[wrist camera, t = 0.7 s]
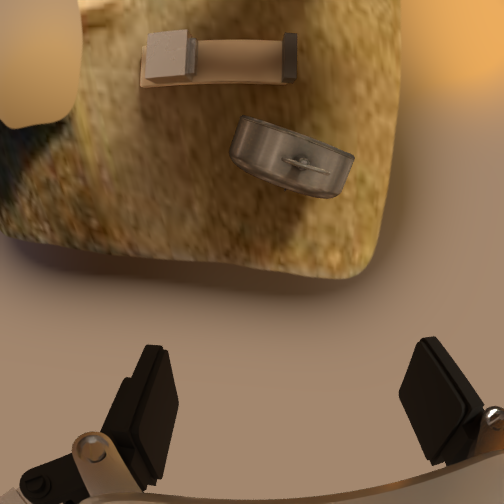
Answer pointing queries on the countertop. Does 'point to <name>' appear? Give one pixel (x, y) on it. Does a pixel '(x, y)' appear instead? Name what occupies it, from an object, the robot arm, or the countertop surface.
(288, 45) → the track
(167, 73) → the block
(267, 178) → the alarm clock
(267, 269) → the countertop surface
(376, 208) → the countertop surface
